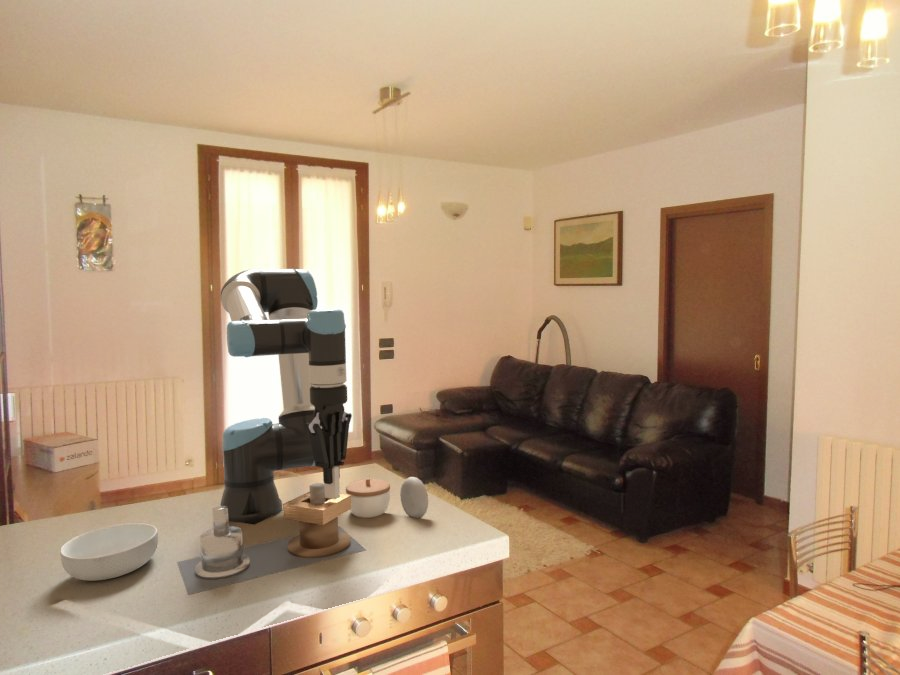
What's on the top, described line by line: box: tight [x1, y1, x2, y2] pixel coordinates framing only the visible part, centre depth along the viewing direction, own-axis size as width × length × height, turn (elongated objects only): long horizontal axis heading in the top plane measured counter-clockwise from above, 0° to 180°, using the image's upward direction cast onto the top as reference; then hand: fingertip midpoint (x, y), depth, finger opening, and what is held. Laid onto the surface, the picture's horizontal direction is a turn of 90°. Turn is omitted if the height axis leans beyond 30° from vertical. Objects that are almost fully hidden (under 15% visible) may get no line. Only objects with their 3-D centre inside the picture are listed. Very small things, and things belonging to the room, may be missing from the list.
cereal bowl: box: [59, 522, 159, 582], centre depth 119 cm, size 17×17×7 cm
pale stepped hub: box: [195, 505, 250, 580], centre depth 117 cm, size 10×10×12 cm
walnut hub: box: [288, 482, 351, 558], centre depth 127 cm, size 13×13×13 cm
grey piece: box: [399, 476, 429, 519], centre depth 145 cm, size 10×4×10 cm, turn 34°
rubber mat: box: [176, 525, 367, 595], centre depth 122 cm, size 34×16×1 cm, turn 121°
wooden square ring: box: [282, 490, 351, 525], centre depth 127 cm, size 10×10×3 cm
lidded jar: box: [345, 477, 391, 519], centre depth 146 cm, size 11×11×9 cm
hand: (332, 497), depth 125 cm, fingers closed
